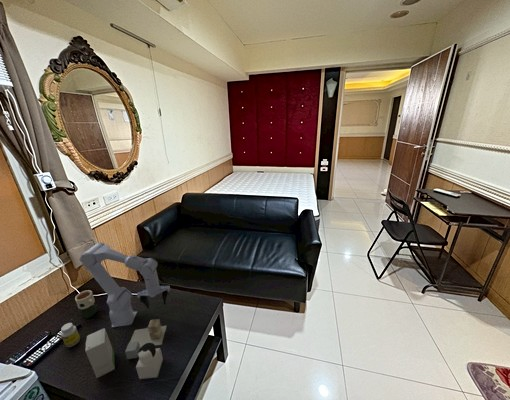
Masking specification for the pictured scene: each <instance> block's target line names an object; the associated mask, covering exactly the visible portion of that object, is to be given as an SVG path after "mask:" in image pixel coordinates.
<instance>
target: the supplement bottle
mask: <svg viewBox="0 0 510 400" xmlns="http://www.w3.org/2000/svg"><path fill="white" fill-rule="evenodd" d="M60 330H61V333H60V336H61V339H62V340H63V343H64V345H65V347H67V348H71V347H73V346H75V345H77V344H78V343H79V342H80V340H81V336H80V333H79V331H78V329H77V327H76V325H74V324H73V323H72V322H68V323H65V324H63V326H62V327H61V328H60Z"/></svg>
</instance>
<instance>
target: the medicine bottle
mask: <svg viewBox="0 0 510 400" xmlns="http://www.w3.org/2000/svg"><path fill="white" fill-rule="evenodd" d="M163 358H164V357H163V353H162V350H161V347H158V348H156V345H154V344H153V343H146V344H144V345H143V346H142V347H141V348H140V349H139V351H138V361H137V363H136V366H135V370H136V372H137V376H138V378H139V379H138V380H143V379H152V378H158V376H159V374H160V371H161V370H160V369H161V367H162V364H163V360H164V359H163Z"/></svg>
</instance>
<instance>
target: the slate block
mask: <svg viewBox="0 0 510 400" xmlns="http://www.w3.org/2000/svg"><path fill="white" fill-rule="evenodd" d="M139 349H140V345H139V342H138V341H137V342H131V343H130V342H128V343H127V346H126V349H125V350H124V351H125V352H124V353H125V356H126V359H127V360H131V359H137V358H139V356H138V351H139Z"/></svg>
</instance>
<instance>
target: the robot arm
mask: <svg viewBox="0 0 510 400" xmlns="http://www.w3.org/2000/svg"><path fill="white" fill-rule="evenodd" d="M105 260H110V261H113V262H117V263H122V264H123V265H125V268H129V269H132V270H134V271H138V272H139V273H140V275H141V276H142V278H143V279H144V280H143V281H144V284H145V288H146V289H143V290H142V291H137V294H136V297H137V299H139V301H140V302H141V303H142V304H143V305H144V306H145V307H146V308H147V309H150V300H149V298H148V297H150V298H155V297H156V296H157V295H159V294H161V297H162V300H163V301H162V302H163V305H166V303H167V301H166V299H167V298H168V297H167V296H168V293H169V292H170V291H171V287H170V285H160V283H159V282H160V281H159V276H158V272H157V267H158V264H159V263H158V261H157V260H156V259H155V258H153V257H149V258H146V257H145V258H143V257H140V256H137V255H136V254H131V255H126V254H124V253H122V252H120V251H117V250H115V249H113V248H110V246H109V244H105V243H104V242H97V243H95V244H94V245H93V246H92V247H90V248H88V249H87V250H86V251H84V252H83V253H81V255H80V257H79V261H80V263H82V265H83V266H84V267H85V269H86V270H87V271H88V272H89V273H90V275H91V276H92V277H93V278H94V280H95V281H96V282H97V284H98V285H99V286H100V287H101V288H102V290H103V291H104V292H105V293H106V295H107V300H106V304H107V305H108V309H109V319H110V323H111V328H117V327H123V326H130V325H133V322H134V320H135V317H136V316H137V313H138V311H134V310H133V307H132V306H133V305H132V300H131V298H133V294H132V292H131V291H130V290H129V289H127V287H125V286H122V287H121V286H119V285H118V284H117V282H116V280H115V279H114V278H113V277H112V276H111V274H110V273H109V272H108V271H107V269H106V268H105V267H104V266H103V264H102V262H104V261H105Z"/></svg>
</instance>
